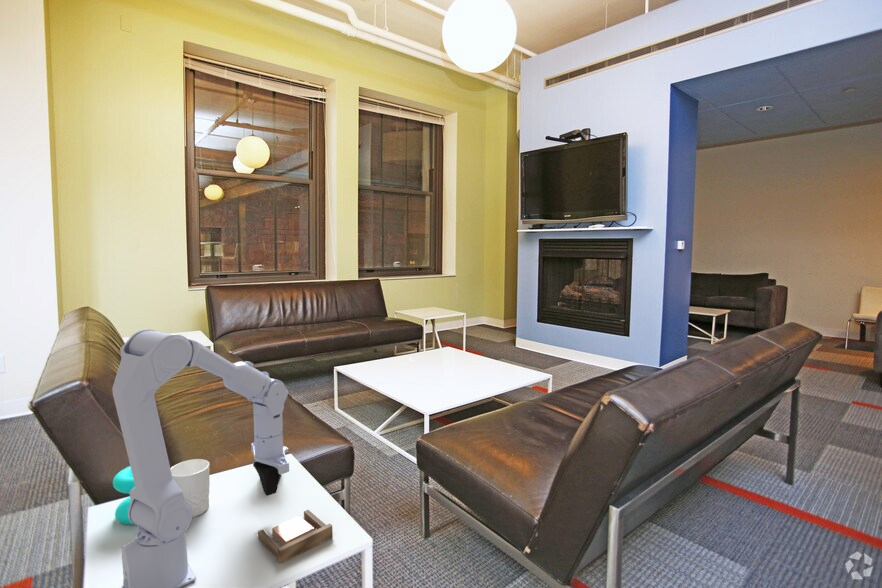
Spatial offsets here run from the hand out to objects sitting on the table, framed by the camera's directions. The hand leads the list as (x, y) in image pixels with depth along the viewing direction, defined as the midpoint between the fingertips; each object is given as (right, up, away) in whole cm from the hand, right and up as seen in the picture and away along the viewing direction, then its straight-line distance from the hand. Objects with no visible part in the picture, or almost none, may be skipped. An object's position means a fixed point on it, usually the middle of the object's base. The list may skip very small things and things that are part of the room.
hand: (270, 493), depth 100 cm
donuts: (-28, -5, +1) cm, 29 cm away
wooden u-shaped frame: (+7, -6, -6) cm, 11 cm away
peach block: (+7, -6, -6) cm, 11 cm away
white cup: (-18, -5, +2) cm, 19 cm away
